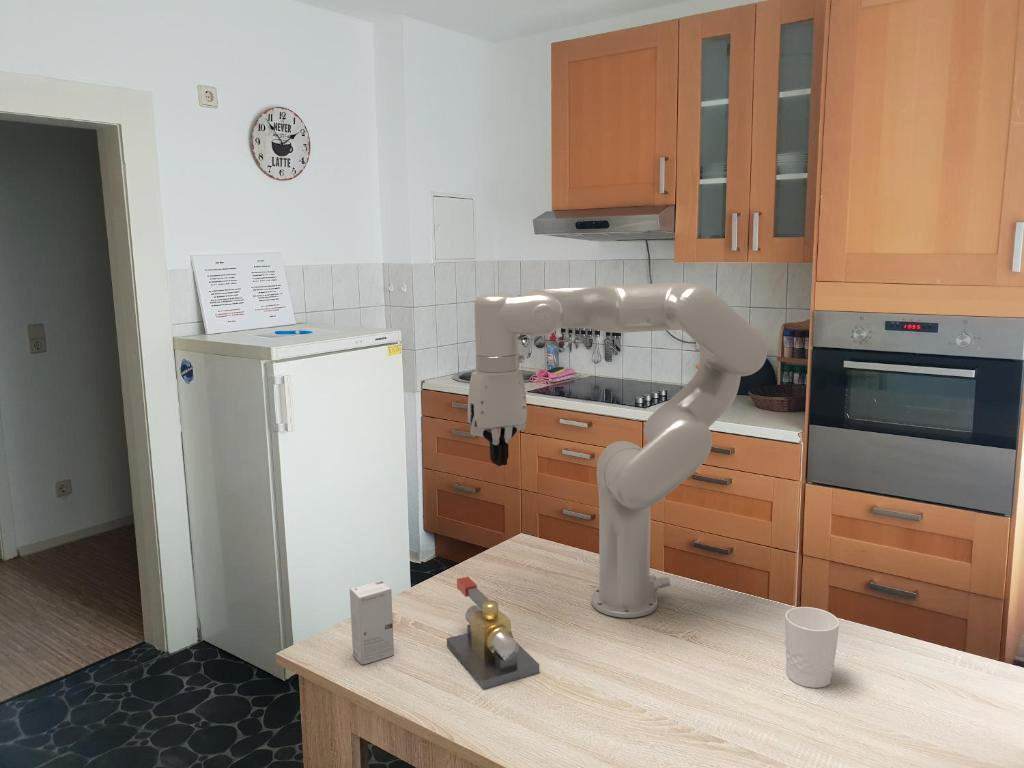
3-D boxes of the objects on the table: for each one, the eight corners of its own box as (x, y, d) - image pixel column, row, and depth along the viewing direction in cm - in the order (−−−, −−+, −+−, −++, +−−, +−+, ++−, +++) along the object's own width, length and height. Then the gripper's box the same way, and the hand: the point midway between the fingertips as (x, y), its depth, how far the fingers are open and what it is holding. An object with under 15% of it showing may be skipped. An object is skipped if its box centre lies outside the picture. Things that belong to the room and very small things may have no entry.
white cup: (834, 667, 127) (837, 610, 125) (836, 694, 120) (840, 634, 118) (782, 660, 130) (785, 603, 128) (782, 685, 122) (785, 626, 120)
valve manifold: (498, 632, 140) (497, 593, 139) (539, 672, 127) (538, 630, 126) (447, 646, 136) (445, 606, 134) (483, 689, 123) (482, 645, 121)
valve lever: (500, 617, 129) (500, 605, 129) (486, 620, 128) (486, 608, 128) (469, 585, 141) (469, 575, 141) (456, 589, 140) (455, 577, 140)
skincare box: (362, 666, 130) (358, 598, 128) (351, 654, 134) (347, 588, 132) (396, 655, 133) (392, 588, 131) (385, 644, 137) (381, 579, 135)
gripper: (524, 357, 146) (526, 453, 149) (450, 365, 139) (453, 464, 142) (544, 363, 139) (545, 463, 142) (467, 371, 132) (470, 475, 136)
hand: (499, 463), depth 142 cm, fingers closed
